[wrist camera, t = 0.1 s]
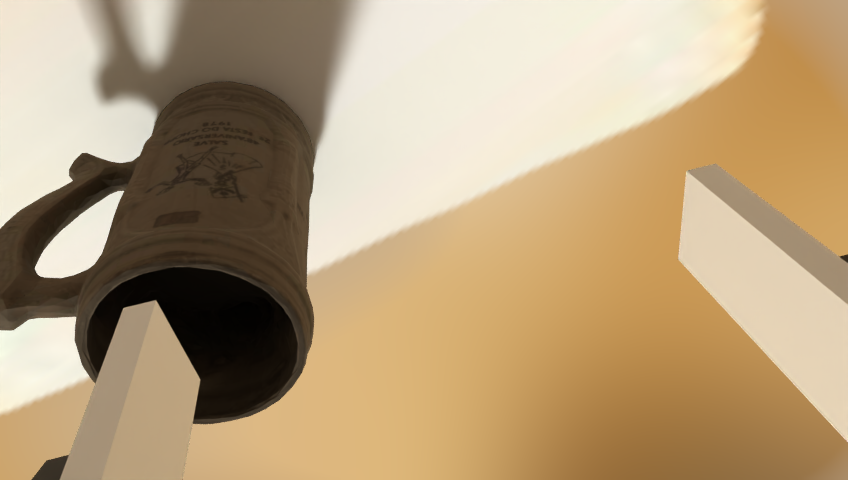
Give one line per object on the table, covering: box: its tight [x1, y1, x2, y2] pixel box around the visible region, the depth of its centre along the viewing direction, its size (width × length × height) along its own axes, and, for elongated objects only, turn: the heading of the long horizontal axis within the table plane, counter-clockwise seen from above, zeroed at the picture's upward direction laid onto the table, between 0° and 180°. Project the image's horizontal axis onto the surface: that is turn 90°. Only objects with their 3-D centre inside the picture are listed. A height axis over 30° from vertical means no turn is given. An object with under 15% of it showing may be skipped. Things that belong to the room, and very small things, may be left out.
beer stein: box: [0, 82, 314, 424], centre depth 33 cm, size 15×11×20 cm
